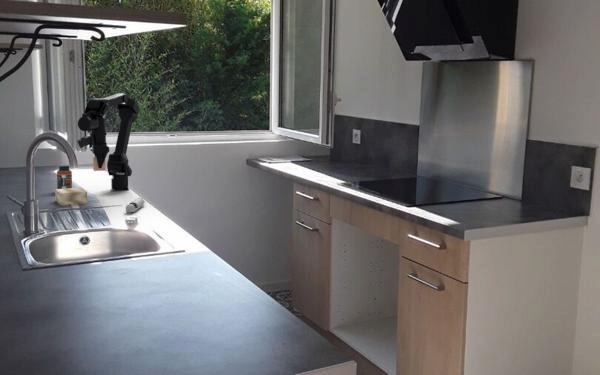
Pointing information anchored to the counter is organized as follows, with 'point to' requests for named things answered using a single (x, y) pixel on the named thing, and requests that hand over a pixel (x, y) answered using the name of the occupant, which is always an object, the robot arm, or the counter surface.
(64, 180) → the supplement bottle
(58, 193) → the beech block
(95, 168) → the terracotta cube
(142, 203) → the torpedo
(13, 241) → the counter surface
